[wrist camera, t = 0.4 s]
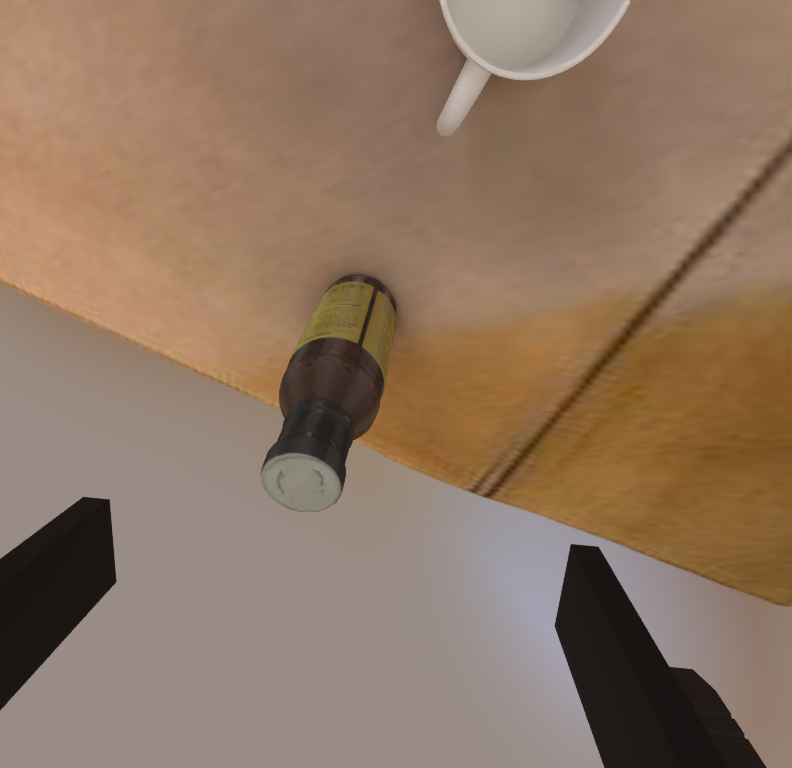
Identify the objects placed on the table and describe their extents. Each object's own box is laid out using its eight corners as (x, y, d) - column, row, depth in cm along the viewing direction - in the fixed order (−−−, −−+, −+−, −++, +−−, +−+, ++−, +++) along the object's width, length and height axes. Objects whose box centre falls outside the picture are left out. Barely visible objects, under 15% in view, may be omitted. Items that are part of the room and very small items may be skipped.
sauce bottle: (309, 315, 41) (206, 486, 25) (348, 255, 38) (261, 404, 22) (373, 357, 43) (317, 545, 26) (416, 303, 40) (384, 477, 23)
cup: (625, -50, 27) (698, -99, 19) (497, 158, 34) (508, 191, 25) (498, -148, 26) (515, -250, 17) (388, 89, 32) (361, 98, 24)
